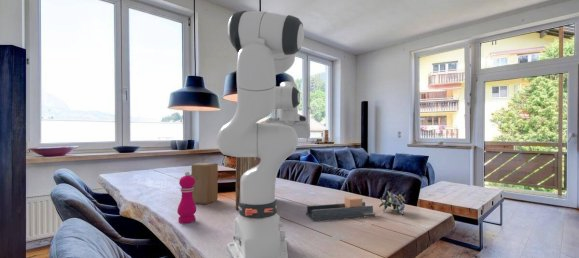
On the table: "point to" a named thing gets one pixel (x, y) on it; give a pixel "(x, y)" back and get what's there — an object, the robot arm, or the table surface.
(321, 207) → the chute
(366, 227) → the table surface
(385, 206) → the grey-green leafy rounded clump
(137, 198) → the table surface
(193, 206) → the pepper mill
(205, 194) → the wooden block
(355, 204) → the block
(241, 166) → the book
